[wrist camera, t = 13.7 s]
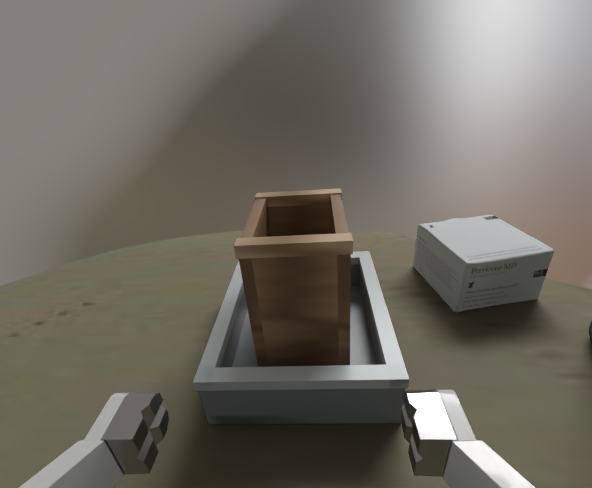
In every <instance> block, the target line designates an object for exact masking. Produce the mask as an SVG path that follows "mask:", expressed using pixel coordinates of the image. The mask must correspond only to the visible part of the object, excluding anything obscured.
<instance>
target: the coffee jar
mask: <svg viewBox="0 0 592 488" xmlns="http://www.w3.org/2000/svg"><path fill="white" fill-rule="evenodd" d="M589 335H590V340H591V344H592V322H591V324H590V326H589Z"/></svg>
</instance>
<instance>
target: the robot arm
mask: <svg viewBox="0 0 592 488" xmlns="http://www.w3.org/2000/svg"><path fill="white" fill-rule="evenodd" d="M162 401H163V399H162V397H161V395H160V393H115V394H113V395H112V396H111V397H110V398H109V400H108V402H107V403H106V405H105V406H104V408H103V410H102V411H101V413H100V415H99V416H98V418H97V419H96V421H95V423H94V424H93V426H92V428H91V429H90V431H89V432H88V434H87V436H86V437H85V439H84V440H80V441H78V442H77V443H75V444H74V445H73V446H72V447H70V448H69V449H68V450H67V451H65V452H64V453H63V454H61V455H60V456H59V457H58V458H56V459H55V460H54V461H52V462H51V463H50V464H49V465H47V466H46V467H45V468H44V469H42V470H41V471H40V472H38V473H37V474H36V475H35V476H33V477H32V478H31V479H29V480H28V481H27V482H26V483H24V484H23V485H22V486H21V487H19V488H113V487H114V486H115V485H116V484H117V483H118V482H119V481H120V480H121V479H122V478H123V476H124V475H123V474H150V471H151V469H152V466H153V464H154V461H155V459H156V456H157V454H158V449H157V444H158V443H159V442H160V441H161V440H162V439H164V436H165V434H166V431H167V427H168V421H169V417H168V412H167V409H166V408H165V407H164V406H162V405H161V403H162ZM403 401H404V405H403V406H402V407H401V423H402V429H403V433H404V438H405V439H406V440H407V441H408V442H409V443H410V444H409V451H408V454H409V457H410V461H411V465H412V469H413V473H414V476H440V477H443V479H444V480H445V481H446V483H447V484H448V485H449V486H450V488H535V487H534V486H533V485H532V484H530V483H529V482H528V481H527V480H526V479H525V478H524V477H522V476H521V475H520V474H519V473H518V472H517V471H516V470H515V469H513V468H512V467H511V466H510V465H509V464H508V463H507V462H506V461H504V460H503V459H502V458H501V457H500V456H499V455H498V454H497V453H495V452H494V451H493V450H492V449H491V448H490V447H489V446H487V445H486V444H485V443H484V442H483V441H479V440H476V437H475V435H474V433H473V431H472V429H471V426H470V424H469V422H468V420H467V417H466V415H465V413H464V411H463V409H462V406H461V404H460V402H459V400H458V397H457V395H456V393H455V392H454V391H453V390H435V389H434V390H404V392H403Z"/></svg>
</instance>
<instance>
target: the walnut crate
mask: <svg viewBox="0 0 592 488" xmlns="http://www.w3.org/2000/svg"><path fill="white" fill-rule="evenodd" d="M234 249H235V255H236V259H239V264H240V269H241V275H242V280H243V286H244V292H245V297H246V303H247V308H248V314H249V319H250V325H251V330H252V336H253V342H254V347H255V353H256V358H257V364H258V367H280V366H336V365H350V287H351V254H353V239H352V234H351V233H349V231H348V227H347V222H346V218H345V214H344V209H343V205H342V192H341V189H323V190H306V191H288V192H269V193H257V194H256V196H255V204H254V206H253V209H252V211H251V213H250V216H249V218H248V220H247V223H246V225H245V228H244V230H243V232H242V235H241V237H240V238H237V240H236V242H235V244H234Z"/></svg>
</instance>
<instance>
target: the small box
mask: <svg viewBox="0 0 592 488" xmlns="http://www.w3.org/2000/svg"><path fill="white" fill-rule="evenodd" d="M553 253H554V250H553V249H552V248H550V247H549V246H547V245H545V244H544V243H542V242H540V241H538V240H537V239H535V238H533V237H531V236H529V235H527V234H525V233H524V232H522V231H520V230H518V229H516V228H515V227H513V226H511V225H509V224H507V223H506V222H504V221H502V220H501V219H499V218H497V217H495V216H493V215H486V216H478V217H471V218H454V219H449V220H447V221H441V222H434V223H427V224H419V225H418V230H417V239H416V247H415V255H414V264H413V267H414V268H415V269H416V270H417V271H418V272H419V273H420V274H421V275H422V277H423V278H424V279H425V280H426V281H427V282H428V283H429V284H430V286H431V287H432V288H433V289H434V290H435V291H436V292H437V293H438V294H439V296H440V297H441V298H442V299H443V300H444V301H445V302H446V303H447V304H448V305H449V307H450V308H451V309H452V310H453V311H454V312H461V311H465V310H470V309H476V308H483V307H489V306H495V305H501V304H508V303H514V302H521V301H528V300H536V299H538V296H539V293H540V290H541V287H542V285H543V282H544V279H545V276H546V273H547V270H548V267H549V264H550V261H551V259H552V256H553Z"/></svg>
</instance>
